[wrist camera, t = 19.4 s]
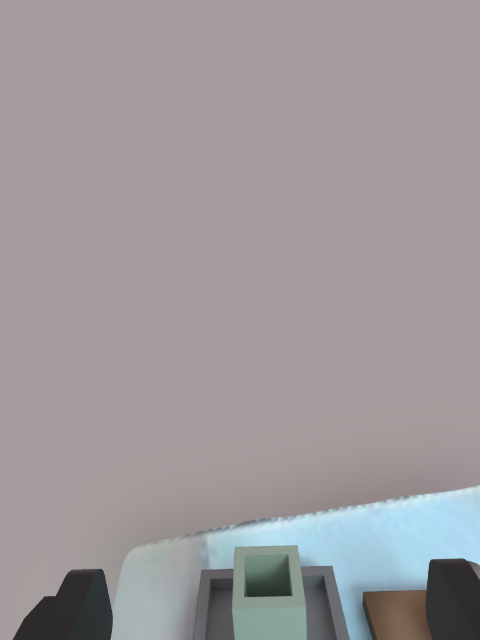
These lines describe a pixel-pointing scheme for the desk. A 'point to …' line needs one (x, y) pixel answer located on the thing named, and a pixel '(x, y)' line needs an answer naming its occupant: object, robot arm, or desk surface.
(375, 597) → the board
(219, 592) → the grey tray
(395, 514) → the desk surface
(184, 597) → the desk surface
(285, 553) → the sleeve
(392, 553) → the desk surface
